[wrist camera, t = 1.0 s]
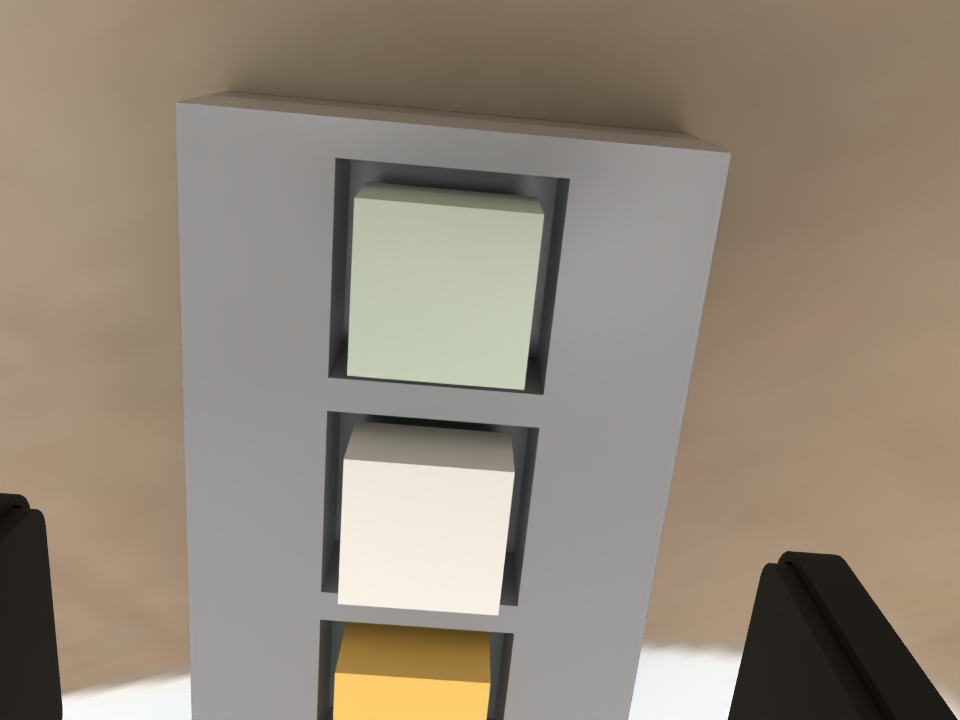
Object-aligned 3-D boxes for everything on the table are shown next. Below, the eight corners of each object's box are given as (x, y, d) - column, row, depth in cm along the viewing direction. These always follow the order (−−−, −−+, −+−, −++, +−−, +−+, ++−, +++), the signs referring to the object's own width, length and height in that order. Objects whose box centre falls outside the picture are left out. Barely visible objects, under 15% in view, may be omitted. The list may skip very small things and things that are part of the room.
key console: (687, 133, 27) (731, 153, 22) (592, 708, 35) (610, 813, 30) (227, 91, 27) (175, 102, 22) (232, 683, 34) (193, 787, 29)
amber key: (489, 630, 29) (490, 683, 26) (476, 743, 30) (477, 802, 28) (346, 620, 28) (334, 672, 26) (341, 733, 30) (330, 793, 28)
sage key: (537, 197, 24) (544, 214, 21) (519, 357, 25) (524, 389, 23) (366, 181, 24) (354, 197, 21) (358, 344, 25) (347, 375, 23)
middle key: (511, 433, 26) (514, 472, 24) (496, 566, 28) (498, 615, 25) (355, 421, 26) (343, 459, 24) (349, 556, 28) (337, 604, 25)
